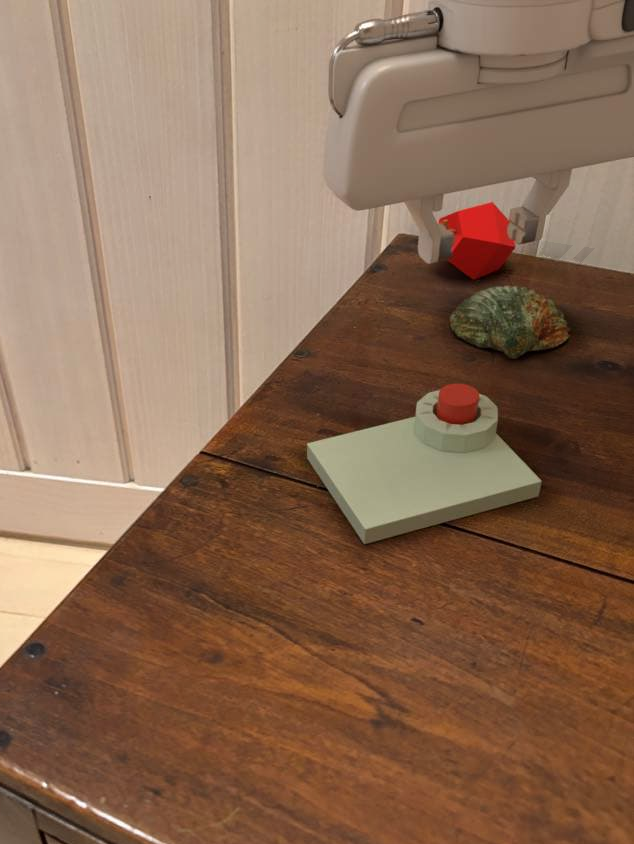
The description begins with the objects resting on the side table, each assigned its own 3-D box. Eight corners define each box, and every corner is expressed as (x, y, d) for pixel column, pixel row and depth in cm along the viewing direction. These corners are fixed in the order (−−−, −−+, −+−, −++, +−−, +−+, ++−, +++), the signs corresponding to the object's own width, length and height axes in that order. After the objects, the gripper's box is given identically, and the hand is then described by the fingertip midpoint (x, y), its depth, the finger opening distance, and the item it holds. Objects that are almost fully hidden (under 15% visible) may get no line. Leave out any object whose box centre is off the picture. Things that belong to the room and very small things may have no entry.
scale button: (464, 400, 67) (467, 379, 66) (483, 420, 65) (487, 400, 64) (429, 408, 67) (431, 388, 65) (448, 429, 65) (450, 409, 63)
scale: (467, 415, 70) (472, 381, 68) (543, 495, 63) (551, 460, 61) (304, 455, 68) (304, 422, 66) (364, 545, 60) (366, 510, 58)
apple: (509, 192, 87) (442, 175, 84) (543, 233, 83) (473, 218, 80) (471, 254, 92) (406, 241, 88) (500, 296, 88) (433, 284, 84)
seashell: (574, 259, 79) (577, 318, 72) (568, 303, 82) (571, 363, 74) (454, 261, 81) (445, 318, 74) (452, 303, 84) (444, 362, 77)
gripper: (356, 41, 44) (346, 304, 53) (717, -16, 48) (649, 238, 57) (306, 11, 48) (305, 259, 58) (640, -38, 52) (589, 201, 62)
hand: (479, 248), depth 58 cm, fingers open, 5 cm apart
